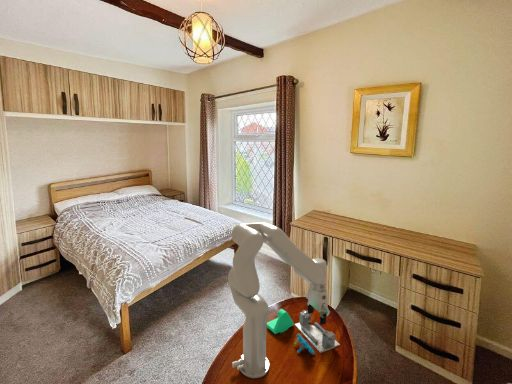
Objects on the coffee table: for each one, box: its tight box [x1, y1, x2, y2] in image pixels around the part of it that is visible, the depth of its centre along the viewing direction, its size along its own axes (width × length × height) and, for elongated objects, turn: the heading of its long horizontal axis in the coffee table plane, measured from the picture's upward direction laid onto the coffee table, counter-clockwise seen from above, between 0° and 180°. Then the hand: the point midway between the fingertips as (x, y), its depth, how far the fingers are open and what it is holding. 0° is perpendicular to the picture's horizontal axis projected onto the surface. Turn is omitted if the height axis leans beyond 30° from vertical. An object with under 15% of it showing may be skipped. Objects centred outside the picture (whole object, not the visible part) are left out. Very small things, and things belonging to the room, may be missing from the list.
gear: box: [293, 333, 315, 355], centre depth 117 cm, size 11×6×10 cm
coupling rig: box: [294, 309, 340, 354], centre depth 128 cm, size 11×21×7 cm, turn 24°
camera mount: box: [266, 308, 295, 335], centre depth 134 cm, size 12×8×10 cm, turn 125°
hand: (316, 318), depth 127 cm, fingers open, 9 cm apart
